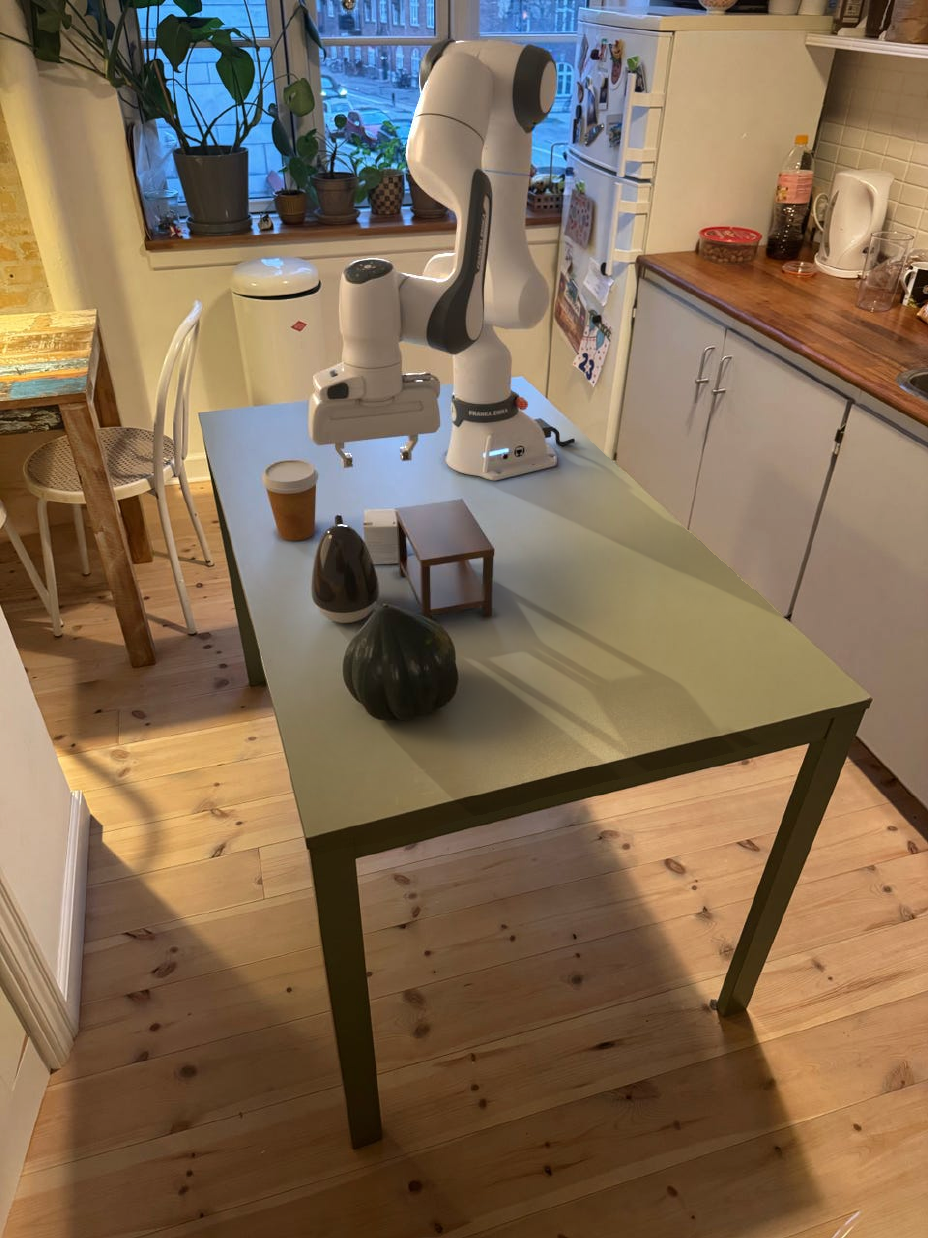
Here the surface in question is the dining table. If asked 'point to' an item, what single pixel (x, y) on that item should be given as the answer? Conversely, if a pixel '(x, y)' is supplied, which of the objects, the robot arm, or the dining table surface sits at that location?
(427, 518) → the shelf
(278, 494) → the disposable coffee cup
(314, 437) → the robot arm
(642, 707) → the dining table surface
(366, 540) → the product carton
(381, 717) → the squash
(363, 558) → the dark brown egg timer
